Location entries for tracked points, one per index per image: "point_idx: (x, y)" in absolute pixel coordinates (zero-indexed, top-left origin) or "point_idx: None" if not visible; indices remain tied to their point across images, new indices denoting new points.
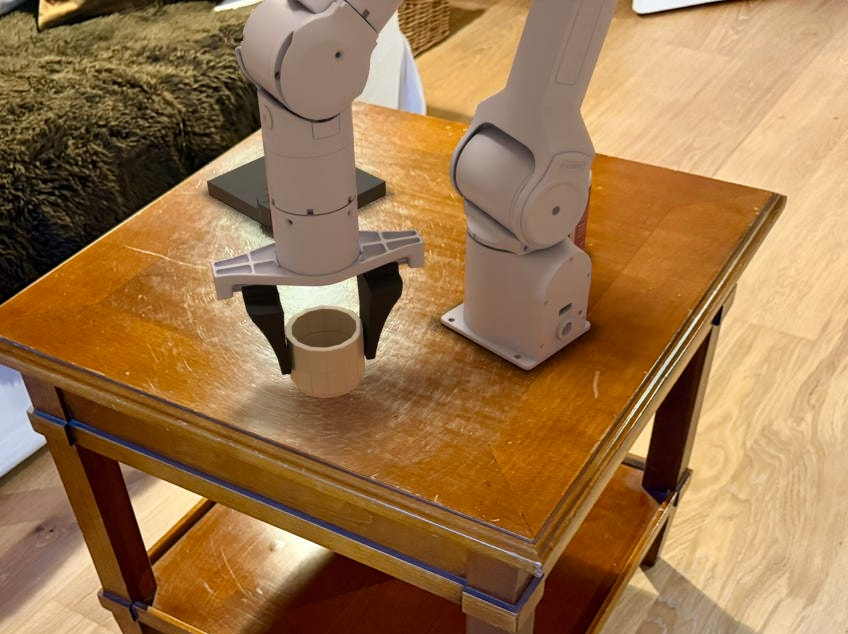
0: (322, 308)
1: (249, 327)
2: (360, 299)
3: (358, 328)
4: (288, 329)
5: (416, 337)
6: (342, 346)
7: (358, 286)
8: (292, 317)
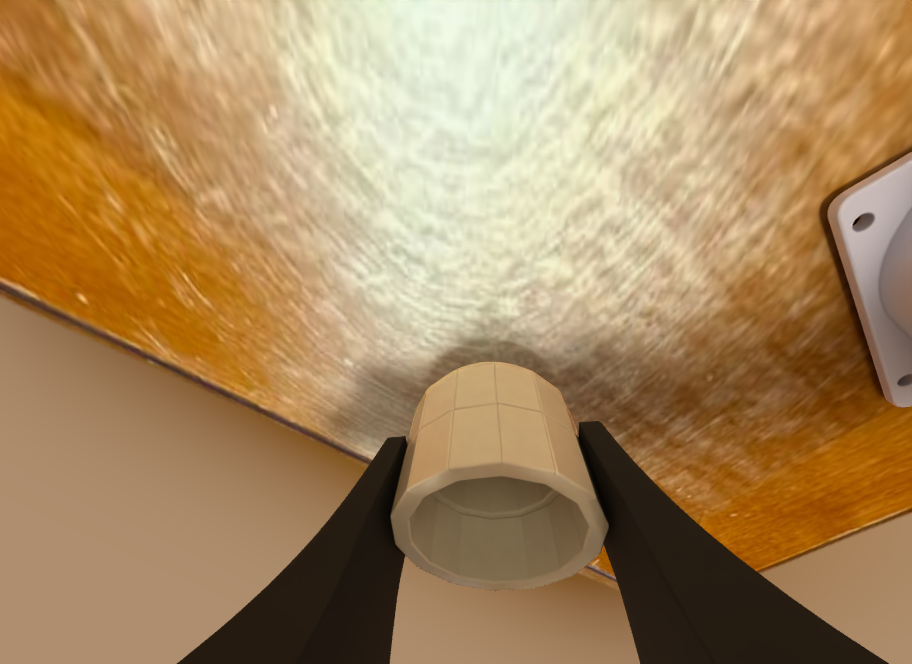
0: (502, 475)
1: (294, 149)
2: (638, 554)
3: (589, 550)
4: (400, 530)
5: (725, 254)
6: (533, 585)
7: (660, 586)
8: (408, 495)
